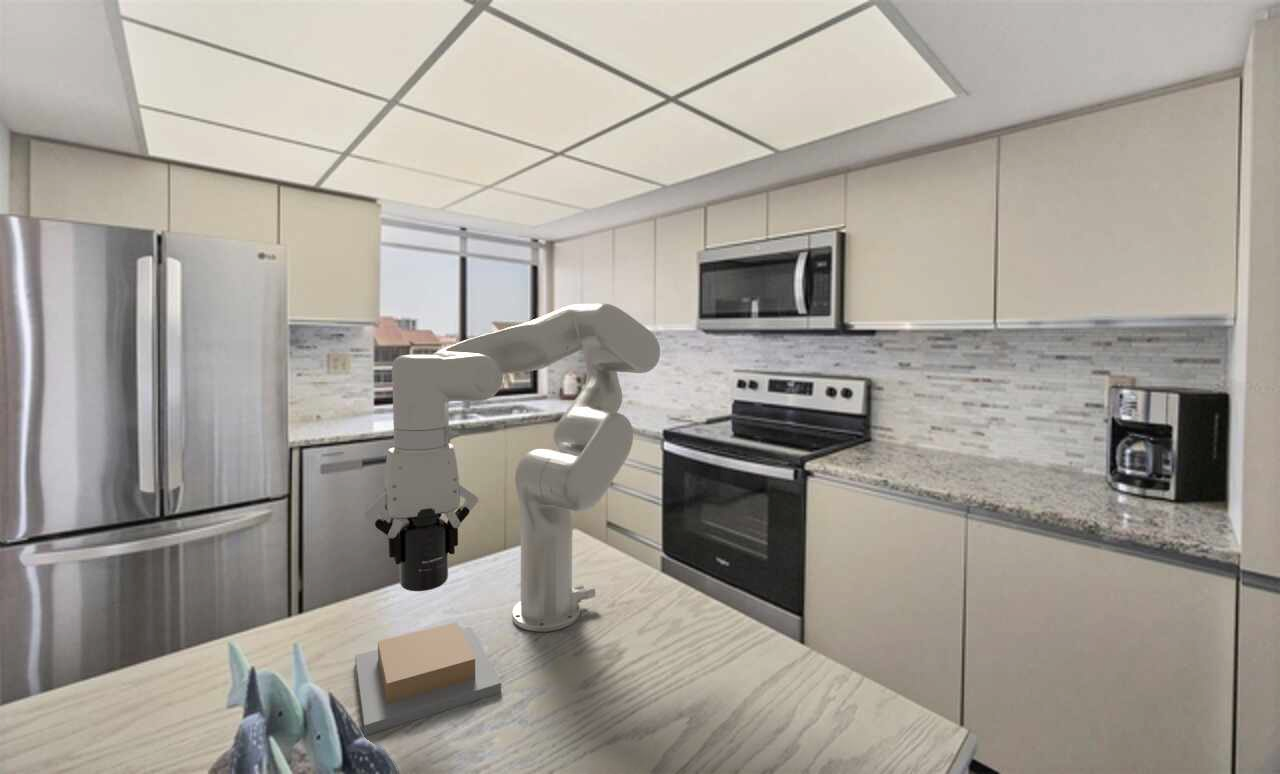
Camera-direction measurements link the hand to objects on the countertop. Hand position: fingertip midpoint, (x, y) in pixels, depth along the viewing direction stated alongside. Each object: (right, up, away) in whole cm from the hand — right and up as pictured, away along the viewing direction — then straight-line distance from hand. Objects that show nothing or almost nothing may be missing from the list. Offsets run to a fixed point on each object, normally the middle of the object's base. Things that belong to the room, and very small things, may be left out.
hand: (424, 554), depth 82 cm
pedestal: (0, -19, +2) cm, 19 cm away
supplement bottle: (0, -4, 0) cm, 4 cm away
